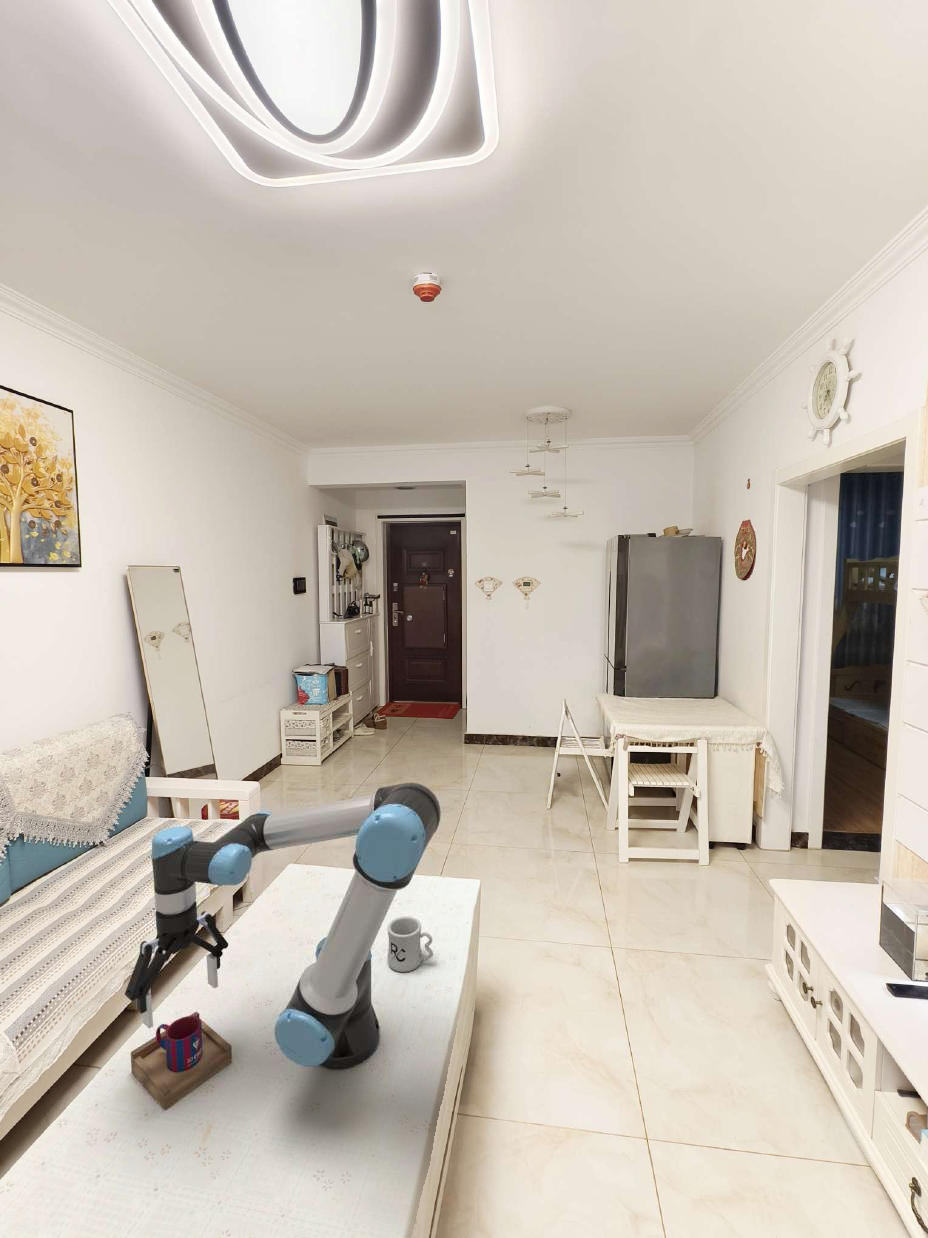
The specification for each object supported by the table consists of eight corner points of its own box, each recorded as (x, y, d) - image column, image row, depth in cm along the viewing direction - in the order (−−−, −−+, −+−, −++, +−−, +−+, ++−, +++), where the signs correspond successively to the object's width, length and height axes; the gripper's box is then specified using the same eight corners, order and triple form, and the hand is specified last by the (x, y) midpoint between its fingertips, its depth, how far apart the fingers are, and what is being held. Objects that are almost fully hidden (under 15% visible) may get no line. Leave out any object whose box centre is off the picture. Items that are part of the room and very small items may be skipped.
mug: (382, 970, 151) (381, 933, 150) (394, 948, 160) (394, 913, 159) (427, 978, 148) (427, 941, 147) (437, 955, 157) (437, 920, 156)
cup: (183, 1077, 116) (182, 1045, 115) (147, 1061, 120) (145, 1030, 119) (209, 1051, 122) (208, 1021, 122) (174, 1037, 126) (173, 1007, 125)
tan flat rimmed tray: (231, 1061, 123) (231, 1041, 122) (164, 1110, 111) (164, 1088, 111) (197, 1030, 131) (196, 1011, 131) (131, 1072, 120) (130, 1052, 120)
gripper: (222, 874, 131) (227, 964, 132) (101, 929, 111) (108, 1034, 112) (241, 884, 126) (246, 977, 128) (118, 943, 106) (125, 1052, 108)
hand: (181, 1004), depth 120 cm, fingers open, 13 cm apart
